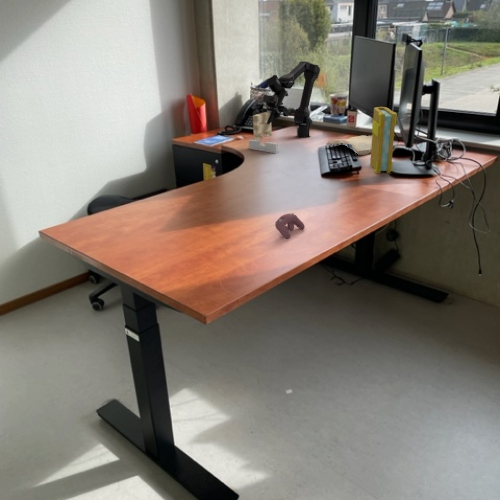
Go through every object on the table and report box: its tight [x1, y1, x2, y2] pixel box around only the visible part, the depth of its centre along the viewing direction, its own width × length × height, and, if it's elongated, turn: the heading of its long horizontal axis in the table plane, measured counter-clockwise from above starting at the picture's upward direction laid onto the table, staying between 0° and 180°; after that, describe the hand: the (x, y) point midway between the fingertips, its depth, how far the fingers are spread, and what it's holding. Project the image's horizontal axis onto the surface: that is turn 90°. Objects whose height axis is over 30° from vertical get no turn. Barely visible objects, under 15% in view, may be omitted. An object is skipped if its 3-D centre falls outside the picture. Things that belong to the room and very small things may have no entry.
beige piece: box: [326, 134, 372, 156], centre depth 244 cm, size 24×8×20 cm
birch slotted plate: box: [252, 111, 272, 141], centre depth 244 cm, size 12×2×12 cm, turn 140°
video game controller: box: [274, 213, 305, 239], centre depth 154 cm, size 10×5×7 cm, turn 142°
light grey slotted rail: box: [248, 139, 279, 154], centre depth 249 cm, size 18×2×4 cm, turn 50°
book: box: [369, 106, 398, 174], centre depth 208 cm, size 17×7×25 cm, turn 179°
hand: (265, 123), depth 246 cm, fingers closed on birch slotted plate, 2 cm apart
